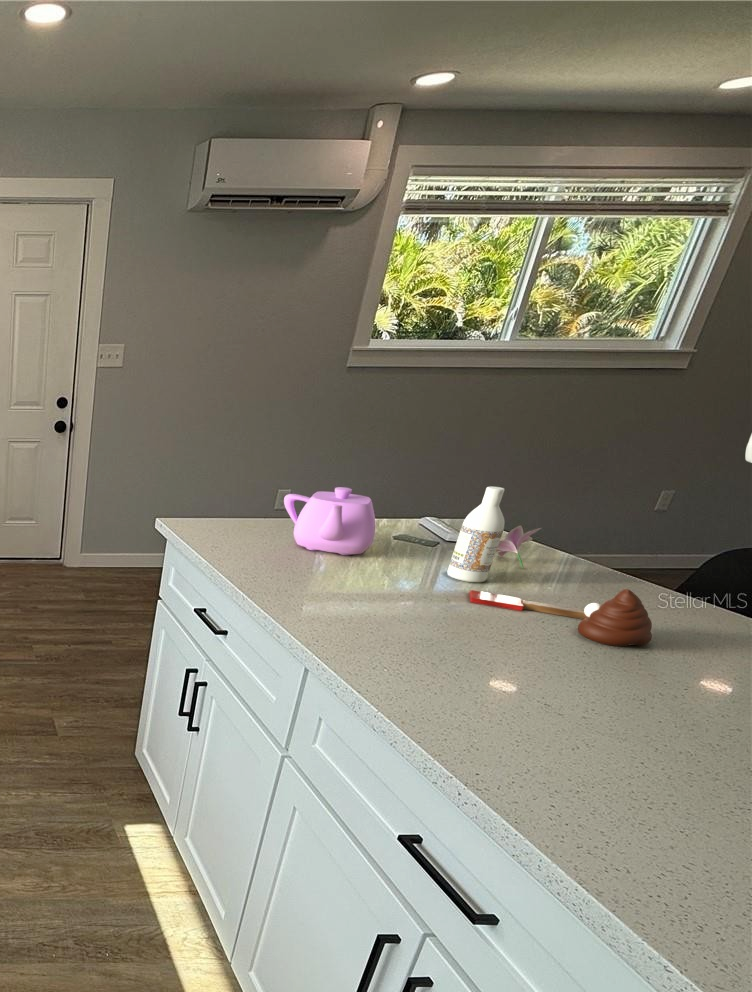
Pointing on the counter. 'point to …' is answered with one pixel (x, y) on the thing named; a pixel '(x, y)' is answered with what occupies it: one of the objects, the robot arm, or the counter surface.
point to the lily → (514, 541)
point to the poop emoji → (617, 621)
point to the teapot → (333, 521)
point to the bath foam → (478, 539)
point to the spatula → (522, 604)
